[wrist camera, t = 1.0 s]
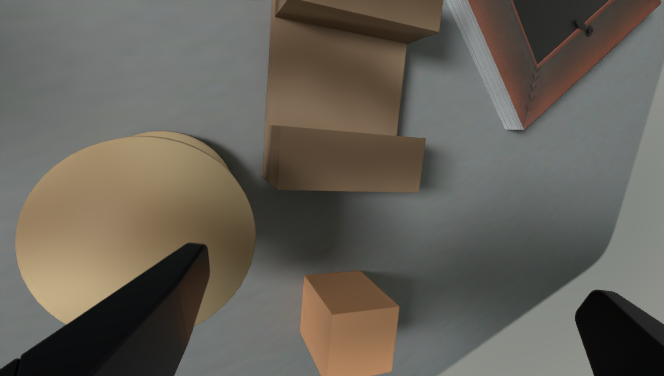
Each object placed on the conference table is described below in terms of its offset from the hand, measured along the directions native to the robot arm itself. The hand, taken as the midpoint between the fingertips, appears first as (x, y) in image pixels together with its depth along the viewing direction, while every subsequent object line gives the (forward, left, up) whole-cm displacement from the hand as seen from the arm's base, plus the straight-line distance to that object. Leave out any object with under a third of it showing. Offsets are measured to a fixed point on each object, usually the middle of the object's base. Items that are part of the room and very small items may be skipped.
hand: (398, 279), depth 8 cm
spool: (-1, +6, -13) cm, 15 cm away
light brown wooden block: (-8, -4, -13) cm, 16 cm away
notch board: (+6, -3, -13) cm, 15 cm away
